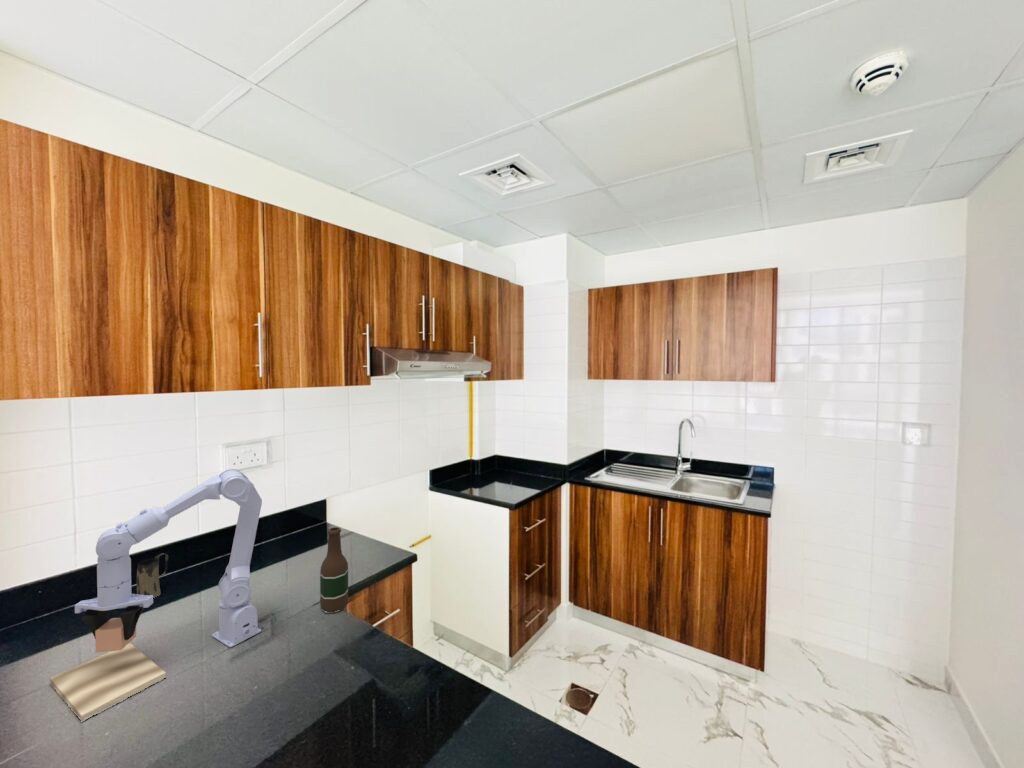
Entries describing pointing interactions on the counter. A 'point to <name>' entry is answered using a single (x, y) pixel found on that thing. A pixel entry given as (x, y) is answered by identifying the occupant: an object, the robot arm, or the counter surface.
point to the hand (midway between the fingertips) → (115, 638)
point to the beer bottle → (334, 575)
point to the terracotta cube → (111, 636)
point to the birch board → (106, 680)
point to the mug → (150, 576)
